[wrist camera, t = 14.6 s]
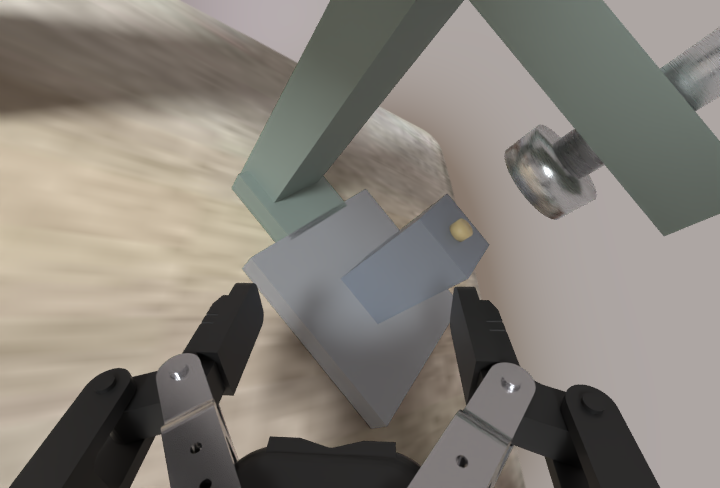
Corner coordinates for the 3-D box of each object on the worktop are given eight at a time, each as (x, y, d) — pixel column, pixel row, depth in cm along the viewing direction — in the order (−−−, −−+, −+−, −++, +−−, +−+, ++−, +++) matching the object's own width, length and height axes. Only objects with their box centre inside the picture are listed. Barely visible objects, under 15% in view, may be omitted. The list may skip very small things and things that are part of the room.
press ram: (495, 160, 18) (1120, -316, 7) (516, 140, 22) (956, -200, 11) (555, 233, 18) (1276, -133, 7) (566, 201, 22) (1060, -78, 11)
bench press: (186, 199, 27) (365, -287, 10) (316, 150, 39) (505, -115, 21) (371, 428, 27) (894, 349, 10) (446, 310, 38) (746, 176, 21)
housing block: (340, 278, 30) (427, 212, 22) (371, 252, 33) (455, 187, 26) (377, 324, 30) (478, 273, 22) (404, 292, 33) (498, 239, 26)
